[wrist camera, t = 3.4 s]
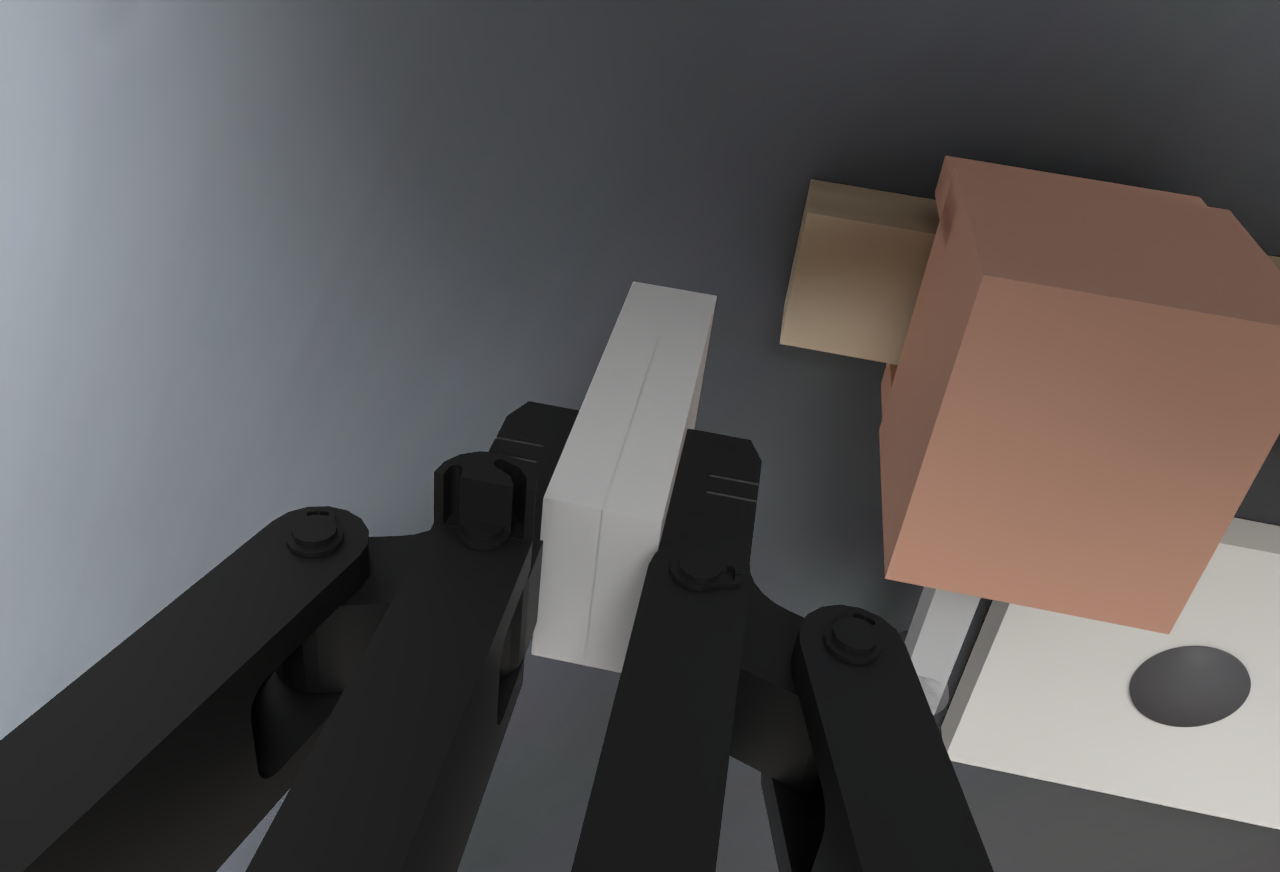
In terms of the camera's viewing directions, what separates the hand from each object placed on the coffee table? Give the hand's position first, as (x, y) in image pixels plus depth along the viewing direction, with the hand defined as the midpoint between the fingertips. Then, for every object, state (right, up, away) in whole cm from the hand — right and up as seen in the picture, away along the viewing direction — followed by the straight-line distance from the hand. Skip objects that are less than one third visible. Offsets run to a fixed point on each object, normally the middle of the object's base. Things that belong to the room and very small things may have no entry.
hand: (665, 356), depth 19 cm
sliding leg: (+7, -1, +5) cm, 9 cm away
